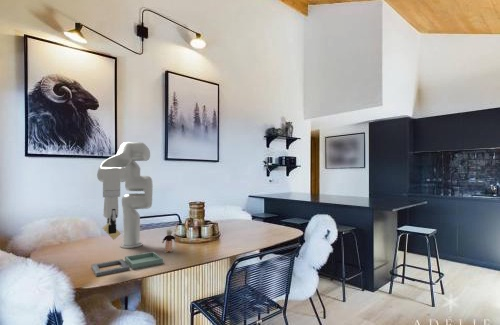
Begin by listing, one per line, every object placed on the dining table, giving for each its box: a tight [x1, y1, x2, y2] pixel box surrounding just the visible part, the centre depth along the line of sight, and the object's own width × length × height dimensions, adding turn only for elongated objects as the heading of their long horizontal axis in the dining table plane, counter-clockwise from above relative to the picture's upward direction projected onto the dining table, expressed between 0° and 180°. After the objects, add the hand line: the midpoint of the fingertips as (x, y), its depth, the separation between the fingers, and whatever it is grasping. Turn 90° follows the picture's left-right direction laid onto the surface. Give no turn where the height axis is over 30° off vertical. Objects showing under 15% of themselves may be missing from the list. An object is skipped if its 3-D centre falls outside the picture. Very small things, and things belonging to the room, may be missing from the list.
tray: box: [124, 251, 164, 271], centre depth 149 cm, size 15×15×2 cm
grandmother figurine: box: [161, 229, 177, 253], centre depth 168 cm, size 8×4×13 cm, turn 126°
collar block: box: [90, 258, 131, 277], centre depth 140 cm, size 14×14×2 cm
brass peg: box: [101, 222, 122, 241], centre depth 141 cm, size 4×4×7 cm
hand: (111, 232), depth 141 cm, fingers closed on brass peg, 3 cm apart
